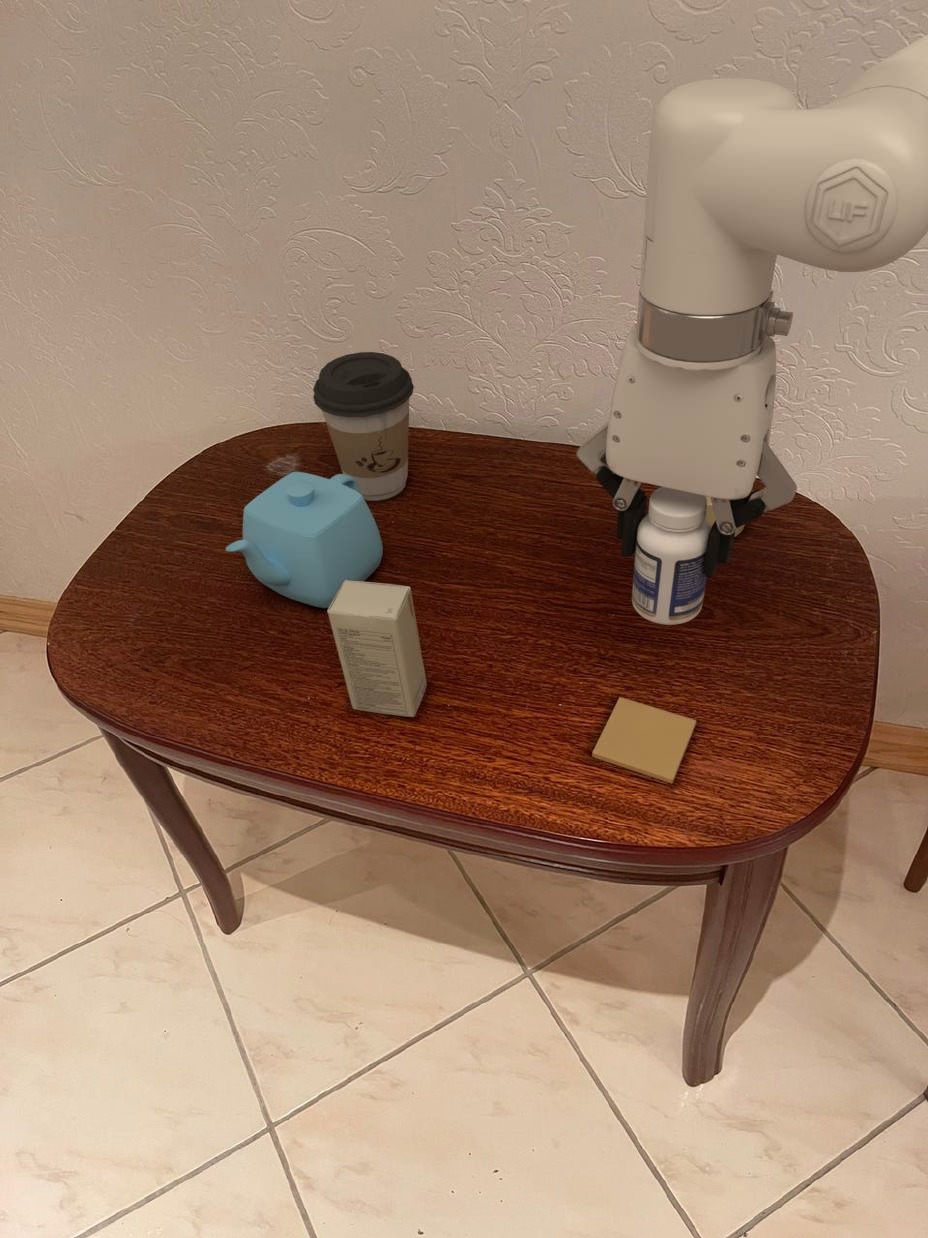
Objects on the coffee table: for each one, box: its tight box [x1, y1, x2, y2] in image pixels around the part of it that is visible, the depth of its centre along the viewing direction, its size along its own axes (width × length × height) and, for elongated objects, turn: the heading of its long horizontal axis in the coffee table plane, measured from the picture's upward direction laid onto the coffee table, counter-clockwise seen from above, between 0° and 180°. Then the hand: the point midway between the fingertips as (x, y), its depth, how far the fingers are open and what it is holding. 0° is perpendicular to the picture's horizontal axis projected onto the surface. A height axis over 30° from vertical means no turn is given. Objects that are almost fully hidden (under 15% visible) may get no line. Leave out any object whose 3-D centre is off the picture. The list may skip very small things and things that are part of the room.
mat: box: [591, 696, 697, 785], centre depth 76 cm, size 7×7×1 cm
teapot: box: [225, 471, 384, 609], centre depth 91 cm, size 12×18×12 cm
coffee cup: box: [312, 351, 415, 502], centre depth 103 cm, size 11×11×15 cm
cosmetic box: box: [326, 580, 428, 718], centre depth 78 cm, size 6×4×12 cm
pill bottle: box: [631, 486, 711, 626], centre depth 65 cm, size 5×5×10 cm
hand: (672, 554), depth 65 cm, fingers closed on pill bottle, 5 cm apart
